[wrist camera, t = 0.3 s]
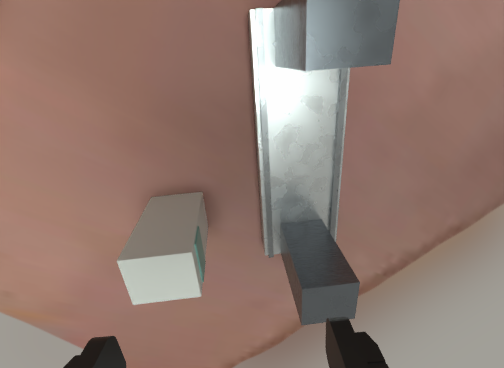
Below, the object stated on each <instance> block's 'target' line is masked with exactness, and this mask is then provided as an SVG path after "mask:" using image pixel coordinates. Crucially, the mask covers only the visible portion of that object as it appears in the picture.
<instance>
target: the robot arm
mask: <svg viewBox="0 0 504 368" xmlns="http://www.w3.org/2000/svg"><path fill="white" fill-rule="evenodd" d="M326 354H327V359H328V364H329V367H330V368H389V367H388V365H387V364H386V362H385V359H384V357H383V355H382V353H381V351H380V349H379V347H378V345H377V344H376V343H375V342H374V341H373V340H372V339H371V338H370V336H369V335H368V334H367V333H366V332H357V333H355V332H354V330H353V328H352V325H351V323H350V321H349V319H348V318H347V317H336V318H327V319H326ZM64 368H126V361H125V359H124V356H123V354H122V351H121V349H120V346H119V344H118V341H117V339H116V337H115V336H106V337H95V338H92V339H90V340H89V342H88V343H87V345H86V346H85V348H84V350H83V352H82V353H81V355H77V356H74V357H73V358H72V359H71V360H70V361H69V362H68V364H66V365H65V366H64Z"/></svg>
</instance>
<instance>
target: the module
mask: <svg viewBox="0 0 504 368" xmlns="http://www.w3.org/2000/svg"><path fill="white" fill-rule="evenodd" d="M207 235H208V222H207V216H206V210H205V204H204V198H203V192H195V193H186V194H176V195H166V196H156V197H151V198H150V200H149V202H148V204H147V206H146V208H145V210H144V211H143V213H142V215H141V217H140V219H139V221H138V223H137V224H136V226H135V228H134V230H133V232H132V234H131V236H130V237H129V239H128V241H127V243H126V245H125V247H124V249H123V250H122V252H121V254H120V256H119V258H118V260H117V263H118V266H119V268H120V271H121V274H122V276H123V279H124V282H125V284H126V287H127V290H128V292H129V295H130V298H131V301H132V303H133V305H136V304H144V303H152V302H161V301H169V300H177V299H185V298H193V297H201V294H202V284H203V282H204V273H205V262H206V261H205V254H206V245H207Z"/></svg>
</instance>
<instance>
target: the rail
mask: <svg viewBox="0 0 504 368" xmlns="http://www.w3.org/2000/svg"><path fill="white" fill-rule="evenodd" d="M399 2H400V0H281V1H280V2H279V3H278V4H277V5H276V7H275V8H270V9H263V8H255V10H250V11H249V13H248V25H249V40H250V56H251V71H252V86H253V102H254V117H255V133H256V148H257V164H258V179H259V194H260V210H261V225H262V241H263V247H264V252H265V255H268V256H269V258H270V257H274V254H280V253H281V255H282V259H283V262H284V266H285V269H286V273H287V276H288V280H289V283H290V287H291V290H292V294H293V297H294V301H295V304H296V308H297V311H298V315H299V318H300V322H301V325H308V324H315V323H323V322H326V319H327V318H336V317H347V318H348V319H353V318H355V313H356V305H357V298H358V291H359V284H360V282H359V280H358V279H357V277H356V275H355V274H354V272H353V270H352V269H351V267H350V265H349V264H348V262H347V260H346V259H345V257H344V255H343V254H342V252H341V250H340V249H339V247H338V245H337V244H336V233H337V221H338V209H339V197H340V185H341V172H342V160H343V148H344V136H345V123H346V111H347V99H348V87H349V75H350V67H363V66H375V65H388V64H391V58H392V51H393V44H394V37H395V30H396V23H397V16H398V9H399Z"/></svg>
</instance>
